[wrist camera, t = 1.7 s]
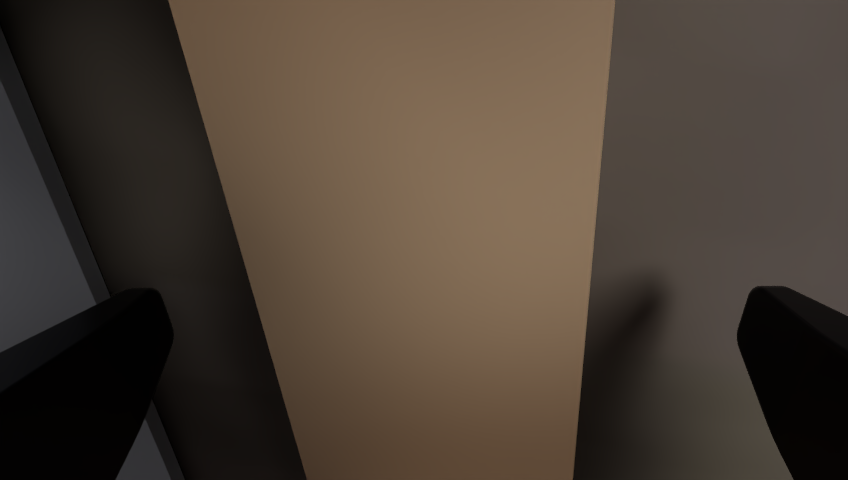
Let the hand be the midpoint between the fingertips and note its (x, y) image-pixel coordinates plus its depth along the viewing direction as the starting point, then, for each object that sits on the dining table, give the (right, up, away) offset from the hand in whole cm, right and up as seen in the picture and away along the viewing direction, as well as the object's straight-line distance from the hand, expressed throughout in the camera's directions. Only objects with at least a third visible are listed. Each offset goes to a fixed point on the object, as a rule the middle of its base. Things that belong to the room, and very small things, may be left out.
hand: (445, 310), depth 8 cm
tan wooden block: (0, +1, +1) cm, 2 cm away
